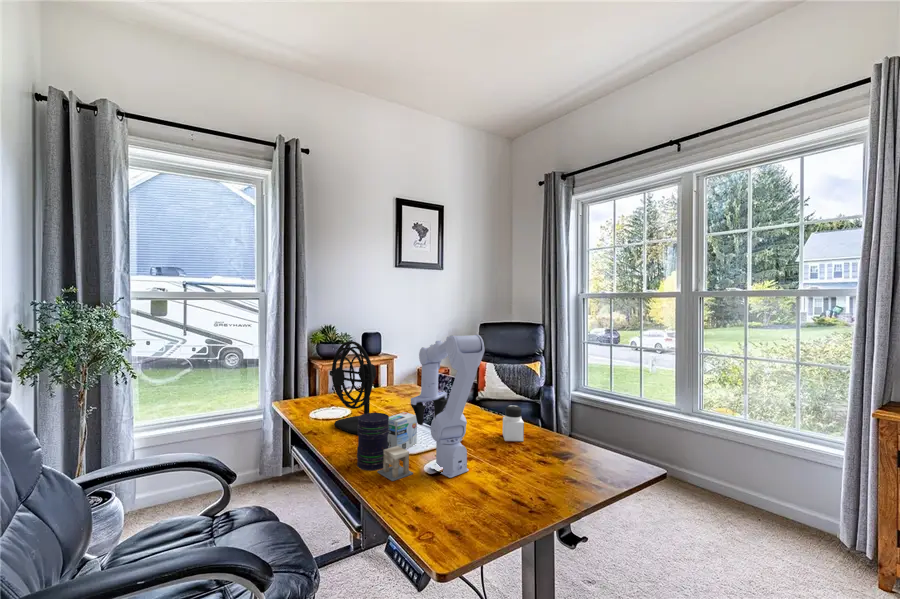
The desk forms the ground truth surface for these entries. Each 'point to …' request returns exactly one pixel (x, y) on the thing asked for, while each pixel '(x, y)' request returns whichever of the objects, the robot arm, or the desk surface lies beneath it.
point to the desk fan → (367, 377)
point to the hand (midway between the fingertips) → (428, 422)
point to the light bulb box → (402, 430)
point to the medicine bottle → (513, 424)
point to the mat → (389, 474)
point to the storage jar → (372, 440)
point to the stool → (396, 460)
